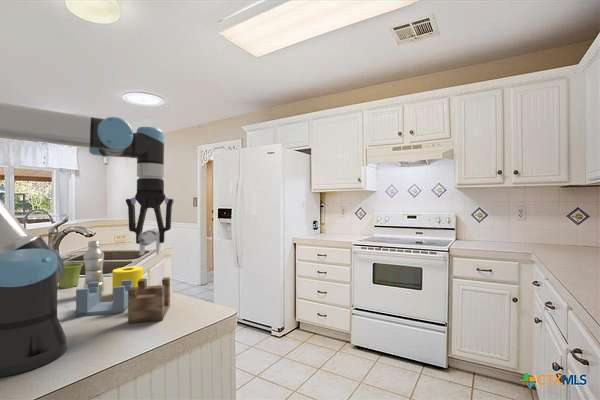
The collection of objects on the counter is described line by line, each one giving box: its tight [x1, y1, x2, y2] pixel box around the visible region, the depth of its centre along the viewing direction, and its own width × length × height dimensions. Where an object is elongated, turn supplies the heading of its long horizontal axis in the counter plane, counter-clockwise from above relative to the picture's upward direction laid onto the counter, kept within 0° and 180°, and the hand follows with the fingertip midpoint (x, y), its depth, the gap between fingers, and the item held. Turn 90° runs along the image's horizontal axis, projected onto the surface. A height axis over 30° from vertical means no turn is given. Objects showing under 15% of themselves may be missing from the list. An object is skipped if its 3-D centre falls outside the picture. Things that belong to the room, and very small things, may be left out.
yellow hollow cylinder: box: [112, 265, 144, 288], centre depth 113 cm, size 10×10×9 cm
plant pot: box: [58, 262, 84, 289], centre depth 124 cm, size 9×9×9 cm
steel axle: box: [138, 227, 159, 247], centre depth 93 cm, size 12×4×4 cm, turn 14°
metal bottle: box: [83, 240, 105, 295], centre depth 112 cm, size 6×7×20 cm
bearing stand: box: [127, 276, 171, 325], centre depth 93 cm, size 9×13×10 cm
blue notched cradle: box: [75, 280, 132, 317], centre depth 97 cm, size 9×13×8 cm
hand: (150, 253), depth 93 cm, fingers closed on steel axle, 4 cm apart
